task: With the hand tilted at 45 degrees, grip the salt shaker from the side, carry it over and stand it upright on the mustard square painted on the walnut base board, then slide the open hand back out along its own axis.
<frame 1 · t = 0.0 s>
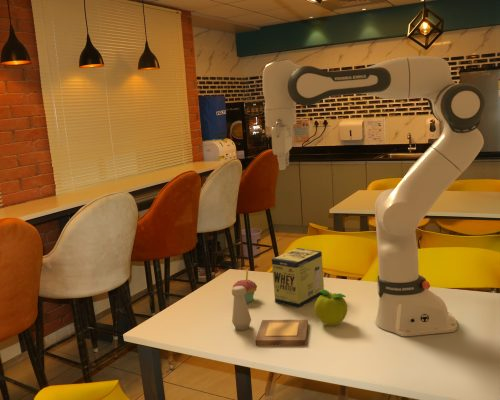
hand: (284, 167, 148), 48 cm above the table, tool pointing down, fingers open, 8 cm apart
salt shaker: (242, 328, 157), on the table
fruit: (331, 324, 154), on the table
base board: (282, 334, 150), on the table
cupcake: (245, 300, 180), on the table
protein box: (300, 298, 177), on the table
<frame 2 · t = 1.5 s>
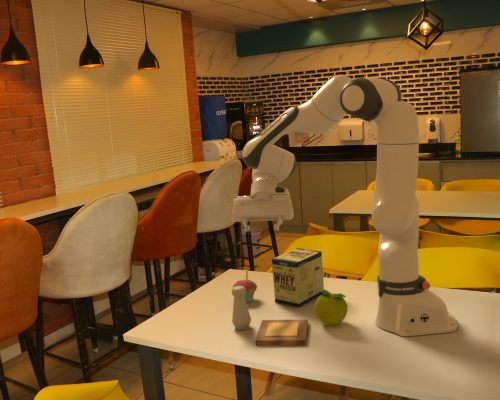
hand: (261, 230, 164), 27 cm above the table, tool tilted 45°, fingers open, 8 cm apart
nothing on the table moved.
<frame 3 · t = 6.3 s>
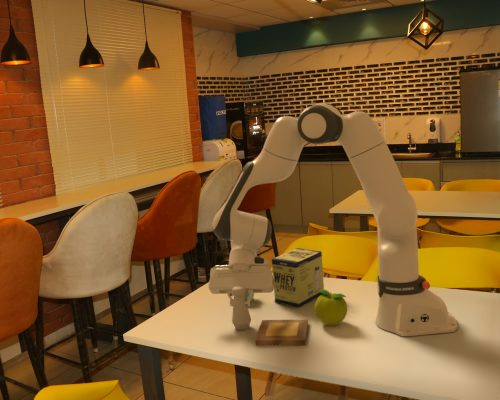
hand: (239, 305, 155), 7 cm above the table, tool tilted 45°, fingers closed on salt shaker, 3 cm apart
salt shaker: (242, 328, 157), on the table, touching gripper
everything else where it was.
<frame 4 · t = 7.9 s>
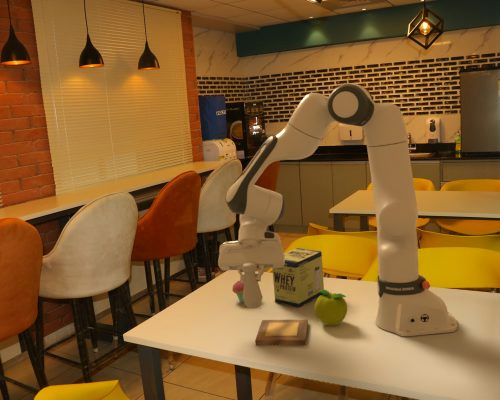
hand: (250, 281, 152), 15 cm above the table, tool tilted 45°, fingers closed on salt shaker, 3 cm apart
salt shaker: (253, 306, 153), point 7 cm above the table, touching gripper
everything else where it was.
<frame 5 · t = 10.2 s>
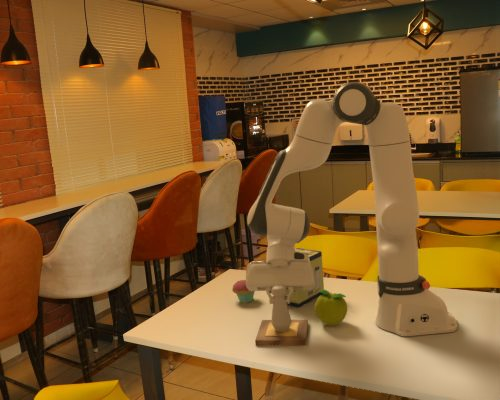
hand: (279, 303, 147), 10 cm above the table, tool tilted 45°, fingers closed on salt shaker, 3 cm apart
salt shaker: (282, 330, 149), point 2 cm above the table, touching base board, gripper
everything else where it was.
when the fingers open (10 cm above the table, at t = 10.3 s): salt shaker stays where it is, resting on base board.
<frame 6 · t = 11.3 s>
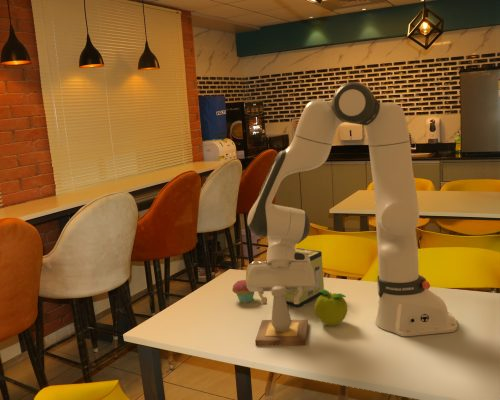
hand: (280, 303, 147), 10 cm above the table, tool tilted 45°, fingers open, 8 cm apart
salt shaker: (282, 330, 149), point 2 cm above the table, touching base board
everything else where it was.
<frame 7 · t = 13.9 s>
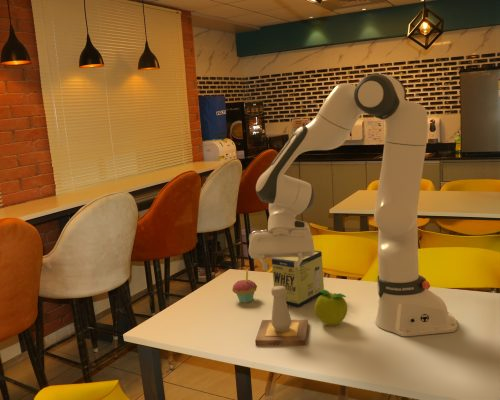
hand: (281, 268, 154), 18 cm above the table, tool tilted 45°, fingers open, 8 cm apart
nothing on the table moved.
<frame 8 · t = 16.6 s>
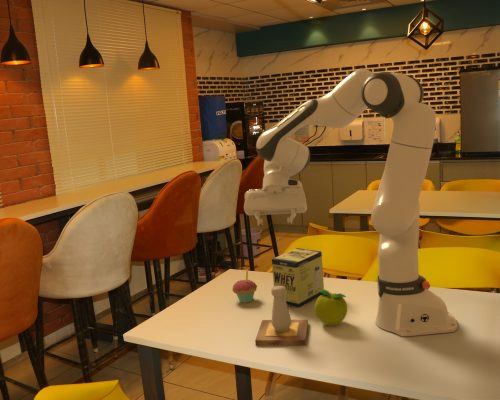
hand: (274, 224, 161), 29 cm above the table, tool tilted 45°, fingers open, 8 cm apart
nothing on the table moved.
at the end: salt shaker 0.5 cm off-centre on the base board, point 1.5 cm above the base board's base; salt shaker tilted 0°; the gripper is holding nothing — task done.
